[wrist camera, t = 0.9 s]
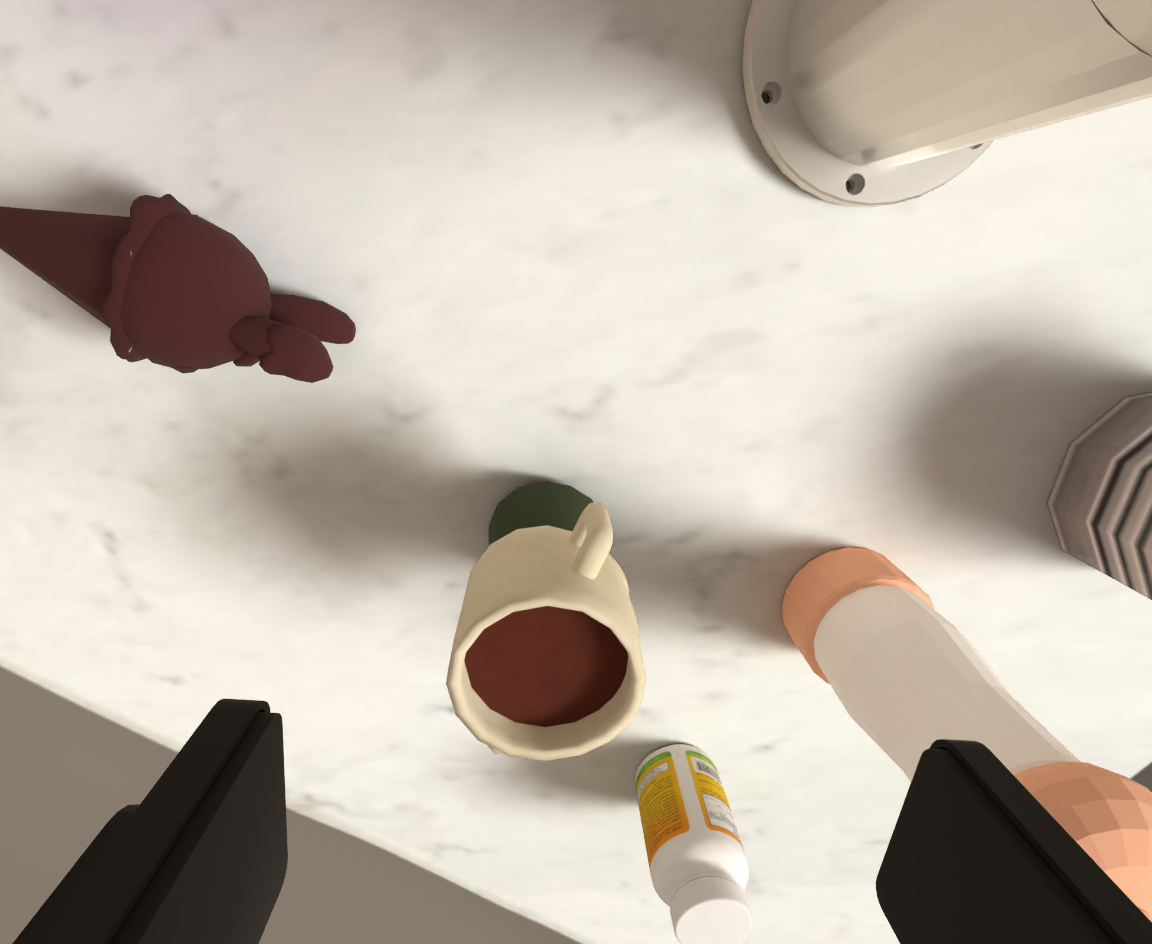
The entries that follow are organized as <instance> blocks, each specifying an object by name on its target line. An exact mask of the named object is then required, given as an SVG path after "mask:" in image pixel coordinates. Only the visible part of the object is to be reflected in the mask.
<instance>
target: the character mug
mask: <svg viewBox="0 0 1152 944" xmlns="http://www.w3.org/2000/svg"><path fill="white" fill-rule="evenodd" d="M612 544H613V529H612V525H611V521H610V517H609V513H608V510H607V509H606V508H605V507H604V506H603V505H602V504H601V503H593V501H592V499H590V498H589V497H587V496H586V495H584V494H582V493H581V492H579V491H577V490H576V489H574V488H573V487H571V486H566V485H560V484H555V483H549V482H541V483H536V484H532V485H528V486H523V487H519V488H517V489H516V490H515V491H513V492H512V493H511V494H510V495H508V496H507V497H506V498H505V499H503V500H502V501H501V502H500V503H499V504H498V506H497V508H496V510H495V513H494V515H493V517H492V520H491V522H490V524H489V547H488V548H487V550H486V551H485V552H484V554H483V555H482V556H481V557H480V559H479V560H478V561H477V563H476V564H475V565H474V567H473V568H472V571H471V573H470V576H469V580H468V585H467V589H466V593H465V597H464V601H463V605H462V609H461V613H460V617H459V621H458V625H457V629H456V634H455V638H454V642H453V647H452V652H451V658H450V663H449V668H448V673H447V681H446V685H447V688H448V691H449V695H450V698H451V701H452V704H453V708H454V711H455V714H456V716H457V717H458V718H459V719H460V720H461V721H462V723H463V724H464V725H465V726H466V727H467V728H468V729H469V731H470V732H471V733H472V734H473V735H474V736H475V737H476V738H477V740H479V741H481V742H483V743H485V744H487V745H488V746H489V748H490V749H491V750H492V751H493V752H494V753H495V754H498V753H504V754H506V755H508V756H511V757H519V758H527V759H535V760H543V761H548V760H554V759H560V758H566V757H573V756H579V755H582V754H585V753H587V752H589V751H591V750H593V749H595V748H597V747H599V746H601V745H603V744H605V743H608V742H610V741H611V740H612V739H613V738H615V737H616V736H617V735H618V734H619V733H620V732H621V731H622V730H624V729H625V728H626V727H627V726H628V725H629V723H630V722H631V721H632V719H633V718H634V717H635V715H636V714H637V712H638V710H639V707H640V705H641V703H642V700H643V695H644V689H645V683H646V674H645V668H644V662H643V657H642V651H641V646H640V638H639V631H638V624H637V619H636V616H635V613H634V610H633V606H632V603H631V600H630V598H629V588H628V583H627V580H626V577H625V574H624V572H623V571H622V569H621V568H620V566H619V564H618V563H617V562H616V561H615V560H614V558H613V557H612V556H611V555H610V554H609V552H610V549H611V546H612Z"/></svg>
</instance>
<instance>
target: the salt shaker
mask: <svg viewBox="0 0 1152 944" xmlns="http://www.w3.org/2000/svg"><path fill="white" fill-rule="evenodd" d="M781 608H782V616H783V624H784V626H785V627H786V629H787V631H788V633H789V635H790V636H791V638H792V640H793V641H794V643H795V644H796V646H797V647H798V649H799V650H800V652H801V653H802V655H803V657H804V658H805V660H806V661H807V663H808V664H809V666H810V667H811V669H812V670H813V672H814V673H816V674H817V675H818V676H819V677H820V678H822V679H823V680H824V681H825V682H826V683H829V684H830V685H831V686H832V688H833V690H834V691H835V693H836V694H837V696H838V698H839V699H840V701H841V702H842V704H843V706H844V707H845V709H846V710H847V712H848V714H849V715H850V716H851V717H852V719H853V720H854V721H855V722H856V723H857V724H858V725H859V726H860V727H861V728H862V729H863V730H864V731H865V732H866V733H867V734H868V735H869V736H870V737H871V738H872V739H873V740H874V741H875V742H876V743H877V744H878V745H879V746H880V747H881V748H882V749H883V750H884V751H885V753H886V754H887V755H888V756H889V757H890V758H891V759H892V760H893V761H894V762H895V763H896V764H897V765H898V766H899V767H900V768H901V769H902V770H903V771H904V773H905V774H906V776H907V777H908V778H909V780H910V781H911V782H912V779H913V776H914V773H915V771H916V768H917V765H918V762H919V760H920V757H921V755H922V753H923V751H925V750H926V749H929V748H930V746H931V745H932V743H933V742H934V741H936V740H939V739H949V740H967V741H977V742H980V743H982V744H983V745H985V746H986V747H987V748H988V749H989V750H990V751H991V752H992V753H993V754H994V755H995V756H996V757H997V758H998V759H999V760H1000V761H1001V762H1002V763H1003V764H1004V766H1005V767H1006V768H1007V769H1008V770H1009V771H1010V772H1011V773H1012V774H1013V775H1014V776H1015V777H1016V778H1017V779H1018V780H1019V782H1020V783H1021V784H1022V785H1023V786H1024V787H1025V788H1026V789H1027V790H1028V791H1029V792H1030V793H1031V794H1032V795H1033V796H1034V797H1035V799H1036V800H1037V801H1038V802H1039V803H1040V804H1041V805H1042V806H1043V807H1044V808H1045V809H1046V810H1047V811H1048V812H1049V813H1050V815H1051V816H1052V817H1053V818H1054V819H1055V820H1056V821H1057V822H1058V823H1059V824H1060V825H1061V826H1062V827H1063V828H1064V829H1065V831H1066V832H1067V833H1068V834H1069V835H1070V836H1071V837H1072V838H1073V839H1074V840H1075V841H1076V842H1077V843H1078V844H1079V845H1080V846H1081V848H1082V849H1083V850H1084V851H1085V852H1086V853H1087V854H1088V855H1089V856H1090V857H1091V858H1092V859H1093V860H1094V861H1095V862H1096V864H1097V865H1098V866H1099V867H1100V868H1101V869H1102V870H1103V871H1104V872H1105V873H1106V874H1107V875H1108V876H1109V877H1110V878H1111V879H1112V881H1113V882H1114V883H1115V884H1116V885H1117V886H1118V887H1119V888H1120V889H1121V890H1122V891H1123V892H1124V893H1125V894H1126V895H1127V897H1128V898H1129V899H1130V900H1131V901H1132V902H1133V903H1134V904H1135V905H1136V906H1137V907H1138V908H1139V909H1140V910H1141V911H1142V912H1143V914H1144V915H1145V916H1146V917H1147V918H1148V919H1149V920H1150V921H1151V922H1152V793H1151V792H1150V791H1149V790H1148V789H1147V788H1146V787H1144V786H1142V785H1140V784H1138V783H1136V782H1135V781H1133V780H1131V779H1129V778H1127V777H1125V776H1122V775H1120V774H1117V773H1114V772H1111V771H1109V770H1106V769H1103V768H1101V767H1098V766H1095V765H1092V764H1089V763H1082V762H1081V761H1080V760H1079V759H1077V758H1076V757H1075V756H1074V755H1073V754H1072V753H1071V752H1070V751H1069V750H1068V749H1067V748H1066V747H1065V746H1064V745H1063V744H1062V743H1061V742H1059V741H1058V740H1057V739H1056V738H1055V737H1054V736H1053V735H1052V734H1051V733H1050V732H1049V731H1048V730H1047V729H1046V728H1045V727H1044V726H1043V725H1042V724H1040V723H1039V722H1038V721H1037V720H1036V719H1035V718H1034V717H1033V716H1032V715H1031V714H1030V713H1029V712H1028V711H1027V710H1026V709H1025V708H1024V707H1022V706H1021V705H1020V704H1019V703H1018V702H1017V701H1016V700H1015V698H1014V697H1013V696H1012V694H1011V693H1010V692H1009V691H1008V689H1007V688H1006V687H1005V685H1004V684H1003V683H1002V682H1001V680H1000V679H999V678H998V676H997V675H996V674H995V673H994V671H993V670H992V669H991V667H990V666H989V665H988V664H987V662H986V661H985V660H984V658H983V657H982V656H981V655H980V653H979V652H978V651H977V649H976V648H975V647H974V646H973V644H972V643H971V642H970V640H969V639H968V638H967V637H966V636H964V635H963V634H962V633H961V632H960V631H959V630H958V629H957V628H956V627H955V626H954V625H952V624H951V623H950V622H949V621H947V620H946V619H945V618H944V617H943V616H941V615H940V614H939V613H938V612H937V611H935V609H934V607H933V605H932V602H931V600H930V598H929V596H928V595H927V594H926V593H925V592H924V591H923V590H922V589H921V588H920V587H919V586H918V585H917V584H916V583H914V582H913V581H912V580H911V579H910V578H909V577H907V576H906V575H905V574H904V573H903V572H902V571H901V570H899V569H898V568H897V567H896V566H895V565H894V564H892V563H891V562H890V561H889V560H888V559H887V558H886V557H884V556H883V555H881V554H879V553H876V552H874V551H871V550H869V549H865V548H851V547H847V548H842V549H837V550H833V551H828V552H826V553H824V554H822V555H820V556H818V557H816V558H815V559H813V560H811V561H809V562H808V563H807V564H806V565H805V566H804V567H803V568H802V569H801V570H799V571H798V572H797V573H796V574H795V576H794V577H793V579H792V581H791V582H790V584H789V585H788V587H787V589H786V590H785V595H784V599H783V603H782V607H781Z"/></svg>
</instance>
